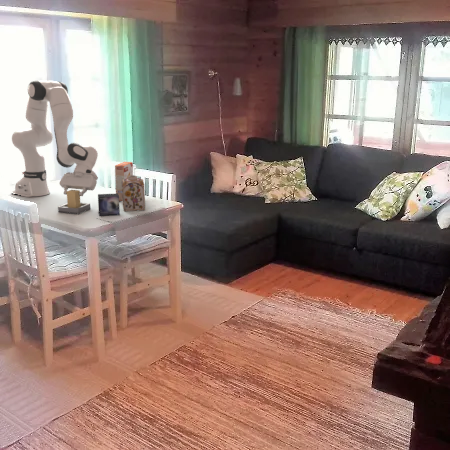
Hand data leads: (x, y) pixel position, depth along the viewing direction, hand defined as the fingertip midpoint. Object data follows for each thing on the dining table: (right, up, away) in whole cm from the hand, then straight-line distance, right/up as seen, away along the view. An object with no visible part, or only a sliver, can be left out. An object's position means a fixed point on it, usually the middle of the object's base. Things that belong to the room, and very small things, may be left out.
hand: (72, 194), depth 287 cm
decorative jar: (+31, -7, +9) cm, 33 cm away
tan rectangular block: (0, -8, +3) cm, 8 cm away
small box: (+20, -11, -3) cm, 23 cm away
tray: (0, -8, +3) cm, 9 cm away
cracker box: (+22, -1, +30) cm, 38 cm away
